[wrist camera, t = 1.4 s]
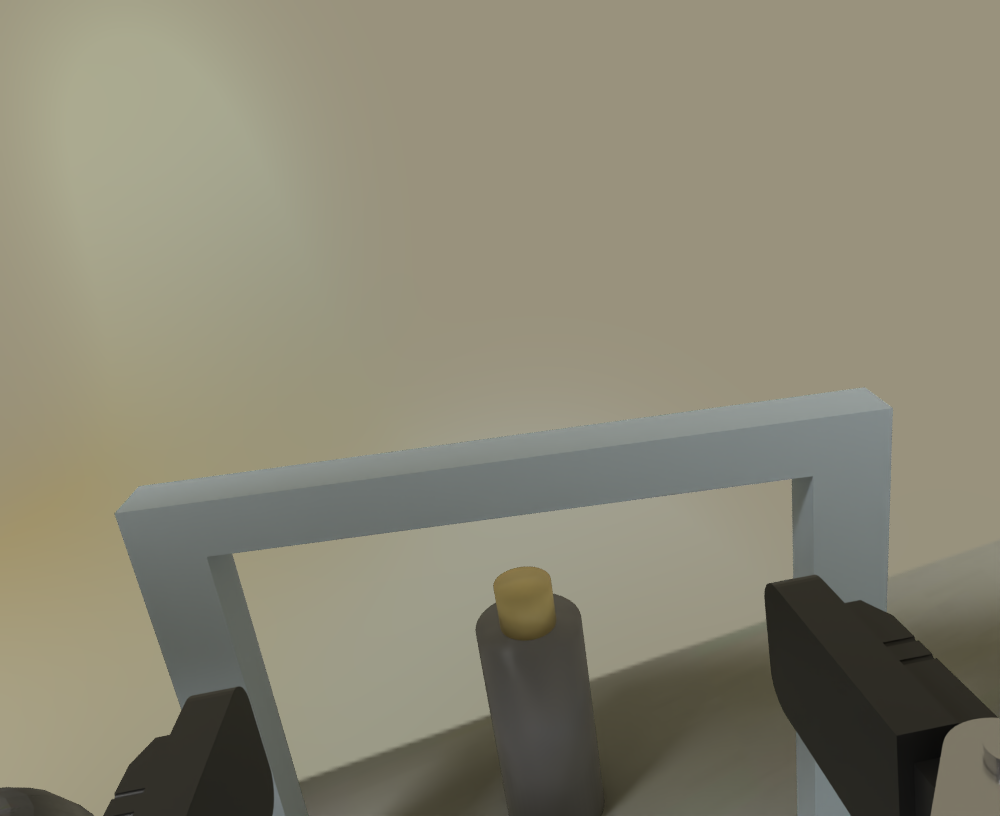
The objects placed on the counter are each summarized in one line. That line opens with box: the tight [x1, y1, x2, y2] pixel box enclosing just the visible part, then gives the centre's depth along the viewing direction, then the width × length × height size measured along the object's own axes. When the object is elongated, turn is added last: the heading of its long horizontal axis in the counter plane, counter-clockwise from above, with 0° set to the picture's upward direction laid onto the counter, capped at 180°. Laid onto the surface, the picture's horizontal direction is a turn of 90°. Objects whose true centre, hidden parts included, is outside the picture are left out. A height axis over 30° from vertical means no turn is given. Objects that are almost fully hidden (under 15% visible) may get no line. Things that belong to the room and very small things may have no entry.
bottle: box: [476, 567, 604, 816], centre depth 36 cm, size 4×4×12 cm
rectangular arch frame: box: [115, 387, 893, 816], centre depth 30 cm, size 25×2×20 cm, turn 91°
